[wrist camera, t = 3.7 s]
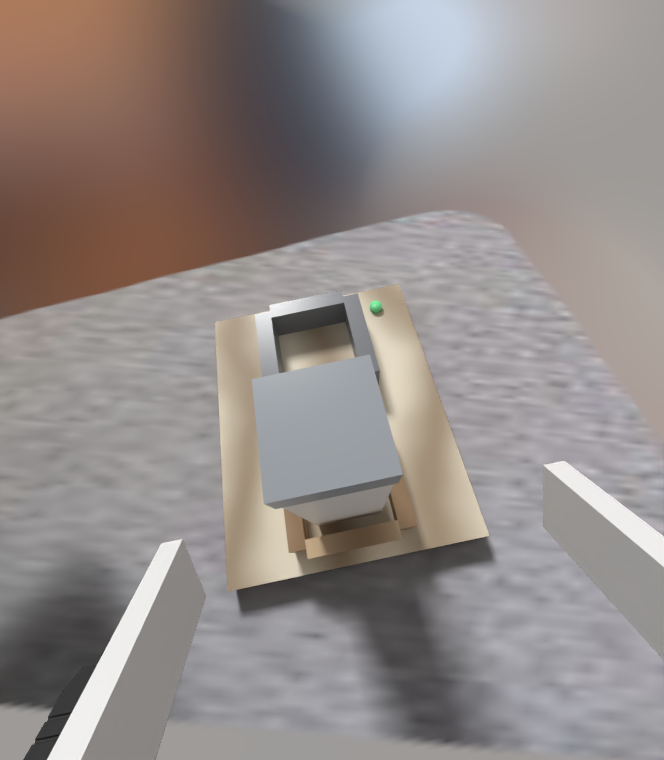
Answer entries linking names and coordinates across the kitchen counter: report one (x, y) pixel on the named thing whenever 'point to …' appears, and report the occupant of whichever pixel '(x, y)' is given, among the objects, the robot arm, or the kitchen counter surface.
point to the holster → (355, 537)
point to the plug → (325, 441)
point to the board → (408, 427)
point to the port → (313, 325)
